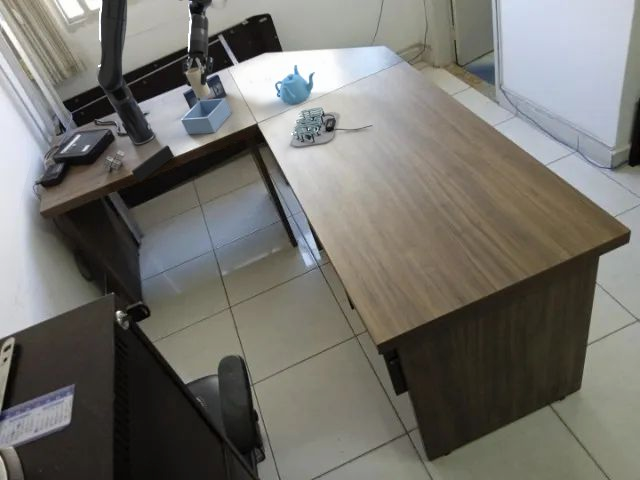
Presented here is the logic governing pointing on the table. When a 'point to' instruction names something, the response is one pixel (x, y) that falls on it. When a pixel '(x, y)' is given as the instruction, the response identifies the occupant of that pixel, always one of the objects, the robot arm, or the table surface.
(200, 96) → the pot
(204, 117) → the basin
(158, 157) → the dark grey slab
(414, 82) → the table surface
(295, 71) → the teapot
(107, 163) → the building blocks
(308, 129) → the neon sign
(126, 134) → the robot arm
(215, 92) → the vhs cassette tape
